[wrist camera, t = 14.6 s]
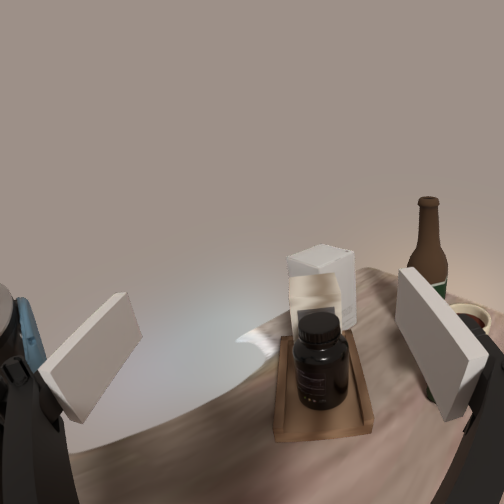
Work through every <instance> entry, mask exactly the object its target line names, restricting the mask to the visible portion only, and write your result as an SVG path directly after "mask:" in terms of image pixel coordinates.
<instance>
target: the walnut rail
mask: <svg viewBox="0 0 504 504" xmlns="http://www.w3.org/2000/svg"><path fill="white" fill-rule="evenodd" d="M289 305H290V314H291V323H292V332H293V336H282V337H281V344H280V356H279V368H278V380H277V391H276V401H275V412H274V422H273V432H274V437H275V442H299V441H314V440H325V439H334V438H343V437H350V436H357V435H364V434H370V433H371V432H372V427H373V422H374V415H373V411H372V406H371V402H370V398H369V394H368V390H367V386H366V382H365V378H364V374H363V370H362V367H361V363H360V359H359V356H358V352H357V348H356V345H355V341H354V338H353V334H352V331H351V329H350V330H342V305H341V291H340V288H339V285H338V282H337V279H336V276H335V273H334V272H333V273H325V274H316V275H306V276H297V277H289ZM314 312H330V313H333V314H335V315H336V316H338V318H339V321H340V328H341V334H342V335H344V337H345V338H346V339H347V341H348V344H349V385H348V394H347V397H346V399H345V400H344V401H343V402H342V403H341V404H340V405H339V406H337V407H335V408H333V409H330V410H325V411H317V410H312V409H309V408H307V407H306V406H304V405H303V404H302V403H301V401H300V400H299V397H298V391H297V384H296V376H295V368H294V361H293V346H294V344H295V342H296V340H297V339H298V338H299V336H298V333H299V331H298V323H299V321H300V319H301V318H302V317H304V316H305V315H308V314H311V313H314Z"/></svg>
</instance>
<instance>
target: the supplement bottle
mask: <svg viewBox="0 0 504 504" xmlns="http://www.w3.org/2000/svg"><path fill="white" fill-rule="evenodd" d="M298 331H299V333H298V336H299V338H298V339H297V340H296V342H295V344H294V346H293V361H294V368H295V376H296V384H297V391H298V397H299V400H300V401H301V403H302V404H303V405H304V406H306V407H307V408H309V409H312V410H317V411H325V410H330V409H333V408H335V407H337V406H339V405H340V404H341V403H342V402H343V401H344V400H345V399H346V397H347V394H348V385H349V344H348V341H347V339H346V338H345V337H344V335H342V334H341V328H340V321H339V318H338V316H336V315H335V314H333V313H330V312H314V313H311V314H308V315H305V316H304V317H302V318H301V319H300V321H299V323H298Z"/></svg>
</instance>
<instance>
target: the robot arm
mask: <svg viewBox="0 0 504 504" xmlns="http://www.w3.org/2000/svg"><path fill="white" fill-rule="evenodd" d="M395 322H396V324H397V326H398V327H399V329H400V331H401V333H402V335H403V337H404V339H405V340H406V342H407V344H408V346H409V348H410V350H411V352H412V354H413V356H414V358H415V360H416V362H417V364H418V366H419V368H420V370H421V372H422V374H423V376H424V378H425V380H426V382H427V384H428V387H429V389H430V391H431V393H432V395H433V397H434V400H435V402H436V404H437V406H438V408H439V411H440V413H441V415H442V418H443V420H444V422H447V421H450V420H453V419H456V418H459V417H462V416H463V415H464V413H465V411H466V409H467V407H468V405H469V406H470V408H471V410H472V412H473V413H472V415H471V417H470V419H469V421H468V422H467V424H466V426H465V428H464V430H463V432H464V435H463V438H462V440H461V442H460V445H459V447H458V450H457V452H456V454H455V457H454V459H453V461H452V463H451V465H450V467H449V469H448V472H447V474H446V476H445V478H444V480H443V481H442V483H441V485H440V487H439V489H438V491H437V493H436V495H435V496H434V498H433V500H432V502H431V503H430V504H499V502H500V500H501V497H502V494H503V492H504V354H503V353H502V352H501V350H500V349H499V348H498V347H497V345H496V344H495V343H494V342H493V341H492V339H491V338H490V337H489V336H488V335H487V334H486V332H485V331H484V330H483V329H482V328H481V327H480V325H479V324H478V323H477V322H476V321H475V320H474V319H473V318H471V317H470V316H468V315H466V314H464V313H463V314H458V315H457V314H456V313H455V312H454V311H453V309H452V308H451V307H450V306H449V305H448V304H447V303H446V301H445V300H444V299H443V298H442V297H441V296H440V295H439V294H438V293H437V291H436V290H435V289H434V288H433V287H432V286H431V285H430V284H429V283H428V282H427V281H426V280H425V278H424V277H423V276H422V275H421V274H420V273H419V272H418V271H417V270H416V269H415V268H414V267H409V268H401V269H399V273H398V290H397V303H396V314H395ZM141 339H142V334H141V332H140V329H139V326H138V323H137V320H136V318H135V315H134V312H133V309H132V306H131V303H130V300H129V296H128V293H127V292H122V293H121V292H120V293H115V294H114V295H112V296H111V297H110V298H109V299H108V300H107V301H106V302H105V303H104V304H103V305H102V306H101V307H100V308H99V309H98V310H97V311H95V312H94V313H93V314H92V315H91V316H90V317H89V318H88V319H87V320H86V321H85V322H84V323H83V324H82V325H81V326H80V327H79V328H78V329H77V330H76V331H75V332H74V333H73V334H72V335H71V336H70V337H69V338H68V339H67V340H66V341H65V342H64V343H63V344H62V345H61V346H60V347H59V348H58V349H57V350H56V351H55V352H54V353H53V354H52V355H51V356H50V357H49V358H48V359H47V358H46V354H45V351H44V347H43V344H42V341H41V338H40V334H39V331H38V328H37V324H36V321H35V318H34V315H33V312H32V310H31V306H30V304H29V302H28V300H27V299H26V298H24V297H21V298H19V297H18V298H16V300H14V299H13V297H12V296H11V293H10V292H9V290H8V289H7V288H6V287H5V286H4V285H2V284H1V283H0V504H79V500H78V496H77V492H76V488H75V484H74V480H73V475H72V471H71V466H70V460H69V455H68V449H67V443H66V436H65V429H64V422H63V419H62V417H61V416H60V414H61V413H62V411H64V412H65V414H66V415H67V417H68V418H69V419H70V420H71V421H74V422H77V423H81V424H83V423H84V422H85V420H86V419H87V417H88V416H89V414H90V412H91V411H92V410H93V408H94V407H95V405H96V404H97V402H98V401H99V399H100V398H101V396H102V395H103V393H104V392H105V390H106V389H107V387H108V386H109V384H110V383H111V381H112V380H113V379H114V377H115V376H116V374H117V373H118V371H119V370H120V368H121V367H122V365H123V364H124V363H125V361H126V360H127V358H128V357H129V356H130V354H131V353H132V351H133V350H134V348H135V347H136V346H137V344H138V342H139V341H140V340H141Z"/></svg>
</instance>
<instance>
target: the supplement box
mask: <svg viewBox="0 0 504 504" xmlns="http://www.w3.org/2000/svg"><path fill="white" fill-rule="evenodd" d="M286 260H287V267H288V276H289V277H297V276H306V275H316V274H325V273H333V272H334V273H335V276H336V279H337V282H338V285H339V288H340V291H341V305H342V330H347V329H349V328H350V327H352V326H353V325H355V324H356V278H355V257H354V251H351V250H346V249H341V248H337V247H333V246H330V245H326V244H319V245H316V246H314V247H311V248H309V249H306V250H303V251H301V252H298V253H295V254H293V255H290V256H287V257H286Z"/></svg>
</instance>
